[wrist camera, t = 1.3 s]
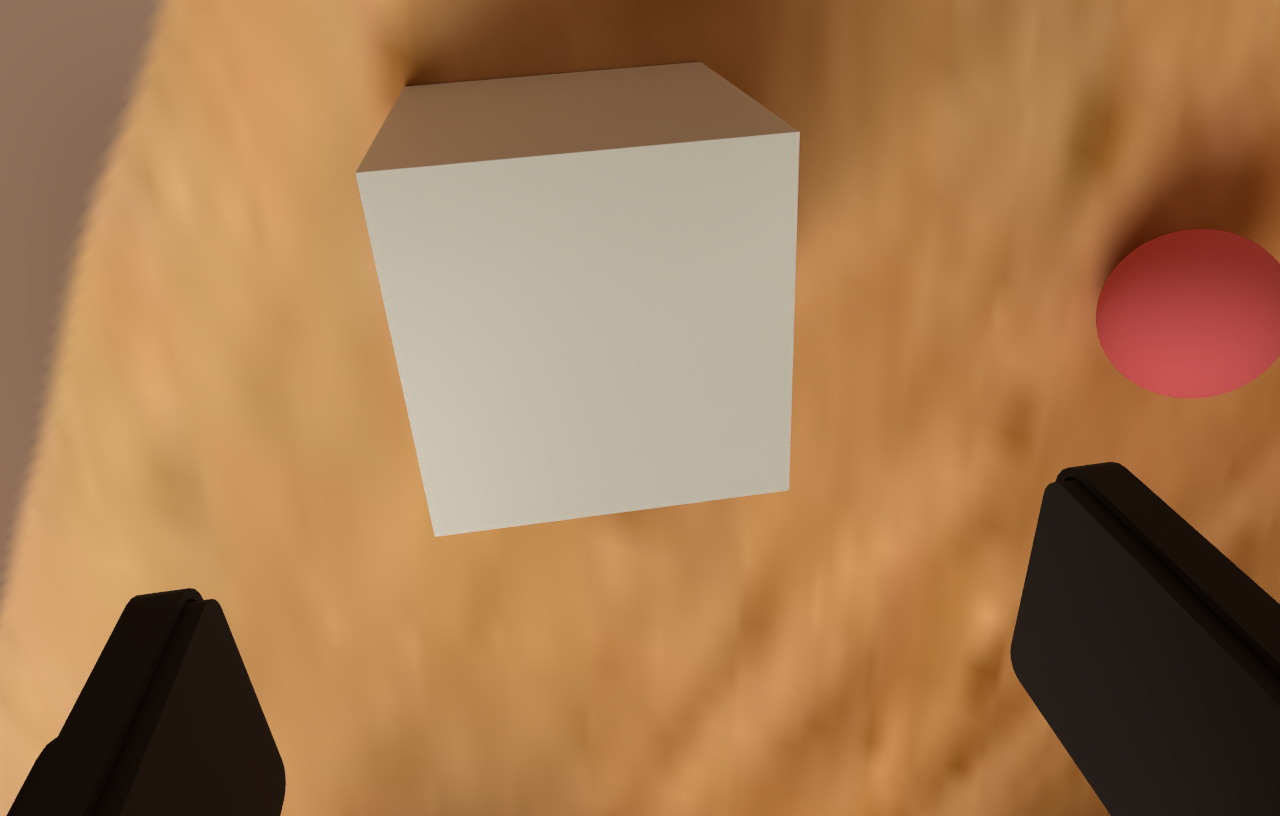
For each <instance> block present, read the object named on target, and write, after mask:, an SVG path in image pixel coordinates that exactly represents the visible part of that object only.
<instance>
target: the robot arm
mask: <svg viewBox="0 0 1280 816" xmlns="http://www.w3.org/2000/svg"><path fill="white" fill-rule="evenodd" d="M1010 653H1011V661H1012V665H1013V669H1014V671H1015V674H1016V676H1017V678H1018V679H1019V681H1020V683H1021V684H1022V686H1023V687H1024V689H1025V690H1026V691H1027V693H1028V694H1029V696H1030V697H1031V699H1032V700H1033V702H1034V703H1035V705H1036V706H1037V708H1038V709H1039V711H1040V712H1041V713H1042V715H1043V716H1044V718H1045V719H1046V721H1047V722H1048V724H1049V725H1050V727H1051V728H1052V730H1053V731H1054V733H1055V734H1056V736H1057V737H1058V738H1059V740H1060V741H1061V743H1062V744H1063V746H1064V747H1065V749H1066V750H1067V752H1068V753H1069V755H1070V756H1071V758H1072V759H1073V760H1074V762H1075V763H1076V765H1077V766H1078V768H1079V769H1080V771H1081V772H1082V774H1083V775H1084V777H1085V778H1086V780H1087V781H1088V783H1089V784H1090V785H1091V787H1092V788H1093V790H1094V791H1095V793H1096V794H1097V796H1098V797H1099V799H1100V800H1101V802H1102V803H1103V805H1104V806H1105V807H1106V809H1107V810H1108V812H1109V813H1110V815H1111V816H1280V604H1279V603H1278V602H1277V601H1275V600H1274V599H1273V598H1272V597H1271V596H1270V595H1269V594H1267V593H1266V592H1265V591H1264V590H1263V589H1262V588H1261V587H1260V586H1258V585H1257V584H1256V583H1255V582H1254V581H1253V580H1252V579H1251V578H1249V577H1248V576H1247V575H1246V574H1245V573H1244V572H1243V571H1242V570H1240V569H1239V568H1238V567H1237V566H1236V565H1235V564H1234V563H1233V562H1231V561H1230V560H1229V559H1228V558H1227V557H1226V556H1225V555H1224V554H1222V553H1221V552H1220V551H1219V550H1218V549H1217V548H1216V547H1215V546H1213V545H1212V544H1211V543H1210V542H1209V541H1208V540H1207V539H1205V538H1204V537H1203V536H1202V535H1201V534H1200V533H1199V532H1198V531H1196V530H1195V529H1194V528H1193V527H1192V526H1191V525H1190V524H1189V523H1187V522H1186V521H1185V520H1184V519H1183V518H1182V517H1181V516H1180V515H1178V514H1177V513H1176V512H1175V511H1174V510H1173V509H1172V508H1171V507H1169V506H1168V505H1167V504H1166V503H1165V502H1164V501H1163V500H1162V499H1160V498H1159V497H1158V496H1157V495H1156V494H1155V493H1154V492H1152V491H1151V490H1150V489H1149V488H1148V487H1147V486H1146V485H1145V484H1143V483H1142V482H1141V481H1140V480H1139V479H1138V478H1137V477H1136V476H1134V475H1133V474H1132V473H1131V472H1130V471H1129V470H1128V469H1127V468H1125V467H1124V466H1122V465H1121V464H1119V463H1115V462H1107V463H1099V464H1092V465H1085V466H1078V467H1070V468H1066V469H1064V470H1062V471H1061V472H1060V473H1059V475H1058V476H1057V479H1056V482H1053V483H1050V484H1049V485H1048V486H1047V487H1046V489H1045V492H1044V495H1043V500H1042V504H1041V509H1040V514H1039V518H1038V523H1037V528H1036V532H1035V537H1034V542H1033V546H1032V551H1031V556H1030V560H1029V565H1028V570H1027V574H1026V579H1025V583H1024V588H1023V593H1022V597H1021V602H1020V607H1019V611H1018V616H1017V621H1016V625H1015V630H1014V635H1013V639H1012V644H1011V652H1010ZM285 785H286V782H285V770H284V765H283V762H282V759H281V756H280V754H279V751H278V749H277V746H276V744H275V741H274V739H273V736H272V734H271V731H270V729H269V726H268V724H267V721H266V719H265V716H264V714H263V711H262V709H261V706H260V704H259V701H258V698H257V696H256V693H255V691H254V688H253V686H252V683H251V681H250V678H249V676H248V673H247V671H246V668H245V666H244V663H243V661H242V658H241V656H240V653H239V651H238V648H237V646H236V643H235V641H234V638H233V636H232V633H231V631H230V628H229V626H228V623H227V621H226V618H225V615H224V613H223V610H222V608H221V606H220V604H219V603H218V602H217V601H216V600H214V599H209V600H203V598H202V596H201V595H200V593H199V592H198V591H196V590H195V589H191V588H188V589H181V590H174V591H166V592H159V593H152V594H144V595H137V596H135V597H134V598H132V599H131V600H130V601H129V602H128V604H127V605H126V607H125V609H124V611H123V613H122V614H121V616H120V618H119V620H118V622H117V624H116V626H115V628H114V630H113V632H112V634H111V636H110V637H109V639H108V641H107V643H106V645H105V647H104V649H103V651H102V653H101V655H100V657H99V659H98V661H97V662H96V664H95V666H94V668H93V670H92V672H91V674H90V676H89V678H88V680H87V682H86V684H85V686H84V687H83V689H82V691H81V693H80V695H79V697H78V699H77V701H76V703H75V705H74V707H73V709H72V711H71V712H70V714H69V716H68V718H67V720H66V722H65V724H64V726H63V728H62V730H61V732H60V734H59V736H58V737H57V738H55V739H54V740H53V741H51V742H50V743H49V744H47V745H46V747H45V748H44V749H43V751H42V752H41V754H40V755H39V757H38V758H37V760H36V761H35V763H34V765H33V767H32V769H31V771H30V773H29V775H28V776H27V778H26V780H25V782H24V784H23V786H22V788H21V790H20V791H19V793H18V795H17V797H16V799H15V801H14V803H13V805H12V807H11V808H10V810H9V812H8V814H7V816H280V814H281V810H282V806H283V801H284V796H285Z"/></svg>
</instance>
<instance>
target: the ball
mask: <svg viewBox="0 0 1280 816" xmlns="http://www.w3.org/2000/svg"><path fill="white" fill-rule="evenodd" d="M1096 325H1097V332H1098V337H1099V340H1100V343H1101V345H1102V348H1103V350H1104V352H1105V354H1106V356H1107V357H1108V359H1109V360H1110V361H1111V362H1112V364H1113V365H1114V366H1115V368H1116V369H1117V370H1118V371H1120V372H1121V373H1122V374H1123V375H1124V376H1125V377H1126V378H1127V379H1129V380H1130V381H1132V382H1134V383H1135V384H1137V385H1139V386H1140V387H1142V388H1144V389H1147V390H1149V391H1152V392H1155V393H1157V394H1161V395H1166V396H1171V397H1176V398H1203V397H1210V396H1216V395H1220V394H1223V393H1226V392H1229V391H1232V390H1235V389H1237V388H1240V387H1242V386H1243V385H1245V384H1247V383H1249V382H1251V381H1252V380H1254V379H1255V378H1257V377H1258V376H1259V375H1261V374H1262V373H1263V372H1264V371H1265V370H1267V369H1268V368H1269V367H1270V366H1271V365H1272V364H1273V363H1274V362H1275V360H1276V359H1277V358H1278V357H1279V355H1280V264H1279V263H1278V261H1277V260H1276V259H1275V258H1274V257H1273V256H1272V255H1271V254H1270V253H1269V252H1267V251H1266V250H1265V249H1264V248H1262V247H1261V246H1260V245H1258V244H1256V243H1254V242H1253V241H1251V240H1249V239H1247V238H1245V237H1242V236H1240V235H1237V234H1233V233H1230V232H1226V231H1221V230H1213V229H1188V230H1182V231H1177V232H1172V233H1168V234H1165V235H1162V236H1160V237H1157V238H1155V239H1152V240H1150V241H1148V242H1146V243H1144V244H1143V245H1141V246H1139V247H1138V248H1136V249H1135V250H1133V251H1132V252H1131V253H1130V254H1128V255H1127V256H1126V257H1125V258H1124V259H1123V260H1122V261H1121V262H1120V263H1119V264H1118V265H1117V266H1116V267H1115V269H1114V270H1113V271H1112V273H1111V274H1110V276H1109V277H1108V279H1107V280H1106V282H1105V284H1104V286H1103V288H1102V291H1101V293H1100V296H1099V300H1098V304H1097V312H1096Z"/></svg>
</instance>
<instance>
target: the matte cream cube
mask: <svg viewBox="0 0 1280 816" xmlns="http://www.w3.org/2000/svg"><path fill="white" fill-rule="evenodd" d="M799 143H800V131H798V130H797V129H795V128H794V127H792V126H791V125H790V124H788V123H787V122H785V121H784V120H783V119H781V118H780V117H778V116H777V115H775V114H774V113H773V112H771V111H770V110H768V109H767V108H766V107H764V106H763V105H761V104H760V103H758V102H757V101H756V100H754V99H753V98H751V97H750V96H749V95H747V94H746V93H744V92H743V91H741V90H740V89H739V88H737V87H736V86H734V85H733V84H731V83H730V82H729V81H727V80H726V79H724V78H723V77H722V76H720V75H719V74H717V73H716V72H714V71H713V70H712V69H710V68H709V67H707V66H706V65H705V64H703V63H702V62H691V63H679V64H667V65H655V66H643V67H632V68H620V69H608V70H596V71H584V72H572V73H560V74H548V75H537V76H525V77H513V78H501V79H489V80H477V81H465V82H453V83H442V84H430V85H418V86H406V87H404V88H403V89H402V91H401V93H400V95H399V97H398V98H397V100H396V102H395V104H394V105H393V107H392V109H391V111H390V112H389V114H388V116H387V118H386V120H385V121H384V123H383V125H382V127H381V128H380V130H379V132H378V134H377V136H376V137H375V139H374V141H373V143H372V144H371V146H370V148H369V150H368V152H367V153H366V155H365V157H364V159H363V160H362V162H361V164H360V166H359V167H358V169H357V171H356V178H357V182H358V187H359V191H360V196H361V201H362V205H363V210H364V214H365V219H366V224H367V228H368V233H369V237H370V242H371V246H372V251H373V256H374V260H375V265H376V269H377V274H378V279H379V283H380V288H381V292H382V297H383V301H384V306H385V311H386V315H387V320H388V324H389V329H390V334H391V338H392V343H393V347H394V352H395V356H396V361H397V366H398V370H399V375H400V379H401V384H402V389H403V393H404V398H405V402H406V407H407V411H408V416H409V421H410V425H411V430H412V434H413V439H414V444H415V448H416V453H417V457H418V462H419V466H420V471H421V476H422V480H423V485H424V489H425V494H426V499H427V503H428V508H429V512H430V517H431V521H432V526H433V531H434V535H435V537H438V536H446V535H453V534H461V533H468V532H476V531H484V530H491V529H499V528H506V527H514V526H522V525H529V524H537V523H544V522H552V521H560V520H567V519H575V518H582V517H590V516H598V515H605V514H613V513H620V512H628V511H635V510H643V509H651V508H658V507H666V506H673V505H681V504H689V503H696V502H704V501H711V500H719V499H727V498H734V497H742V496H749V495H757V494H765V493H772V492H780V491H787V490H789V471H790V438H791V405H792V372H793V340H794V307H795V274H796V241H797V208H798V176H799Z"/></svg>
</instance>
